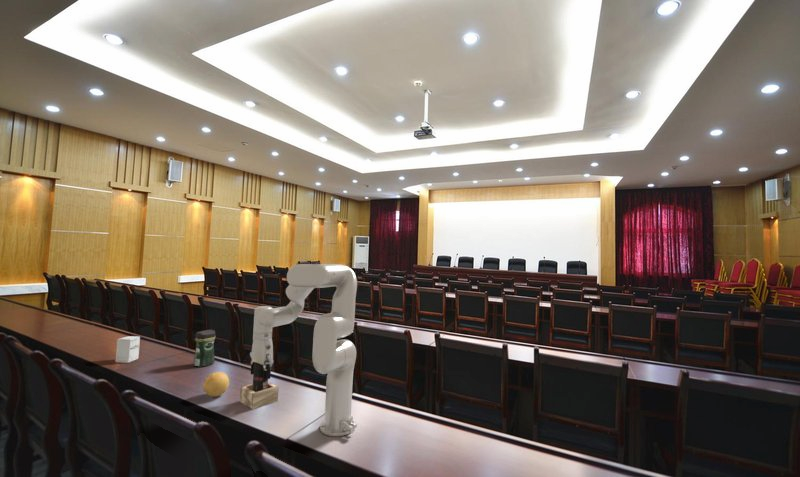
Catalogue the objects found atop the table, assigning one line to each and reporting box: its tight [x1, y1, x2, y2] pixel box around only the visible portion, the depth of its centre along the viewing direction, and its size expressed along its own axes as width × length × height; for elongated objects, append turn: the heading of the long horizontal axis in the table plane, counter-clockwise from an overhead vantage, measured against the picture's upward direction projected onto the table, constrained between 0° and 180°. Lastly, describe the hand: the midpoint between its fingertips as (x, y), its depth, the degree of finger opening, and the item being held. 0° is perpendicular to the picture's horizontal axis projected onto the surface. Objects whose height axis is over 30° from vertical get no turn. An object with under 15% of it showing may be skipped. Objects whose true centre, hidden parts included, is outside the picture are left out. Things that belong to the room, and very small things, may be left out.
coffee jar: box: [193, 329, 216, 368], centre depth 188 cm, size 10×8×19 cm
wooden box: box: [239, 381, 279, 410], centre depth 145 cm, size 11×11×6 cm
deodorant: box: [252, 362, 269, 392], centre depth 145 cm, size 6×6×15 cm
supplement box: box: [115, 335, 141, 364], centre depth 190 cm, size 7×7×13 cm
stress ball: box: [202, 371, 230, 398], centre depth 149 cm, size 10×10×10 cm
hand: (260, 376), depth 145 cm, fingers open, 9 cm apart
